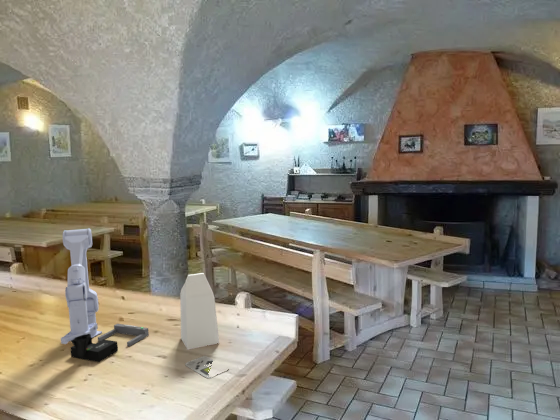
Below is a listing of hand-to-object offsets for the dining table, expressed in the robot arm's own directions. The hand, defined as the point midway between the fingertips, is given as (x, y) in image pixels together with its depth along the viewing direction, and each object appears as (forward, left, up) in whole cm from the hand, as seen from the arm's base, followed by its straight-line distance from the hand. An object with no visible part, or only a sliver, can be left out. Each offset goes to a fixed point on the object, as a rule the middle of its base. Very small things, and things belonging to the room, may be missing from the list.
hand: (82, 355), depth 163 cm
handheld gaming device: (+44, +10, -2) cm, 45 cm away
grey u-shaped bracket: (0, +20, -2) cm, 20 cm away
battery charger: (0, +6, -2) cm, 6 cm away
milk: (+30, +28, -2) cm, 41 cm away
